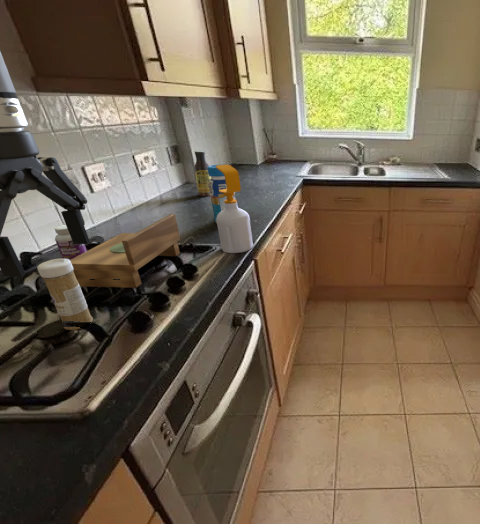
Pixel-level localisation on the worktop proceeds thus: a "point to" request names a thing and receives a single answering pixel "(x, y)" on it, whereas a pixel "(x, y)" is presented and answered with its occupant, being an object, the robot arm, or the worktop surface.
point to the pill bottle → (67, 244)
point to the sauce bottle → (202, 174)
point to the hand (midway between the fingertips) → (52, 257)
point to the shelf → (126, 255)
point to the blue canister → (217, 189)
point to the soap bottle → (233, 216)
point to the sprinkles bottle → (65, 291)
